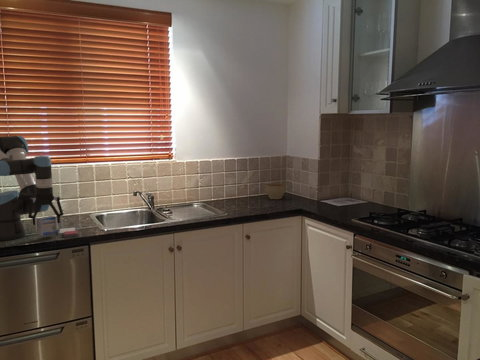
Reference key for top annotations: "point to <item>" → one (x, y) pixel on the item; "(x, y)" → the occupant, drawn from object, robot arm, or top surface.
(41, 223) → the medicine box
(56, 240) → the top surface
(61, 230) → the paper card
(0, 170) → the robot arm
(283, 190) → the planter bowl
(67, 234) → the ink pad
